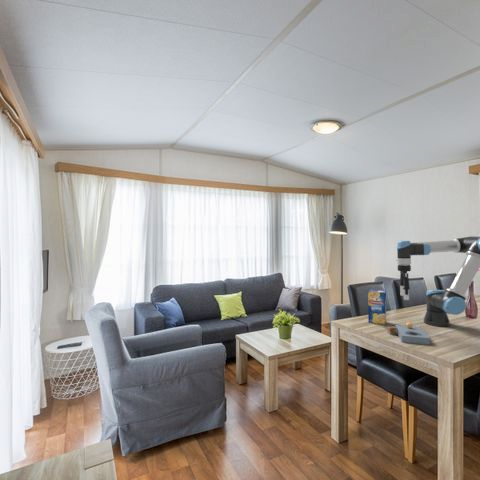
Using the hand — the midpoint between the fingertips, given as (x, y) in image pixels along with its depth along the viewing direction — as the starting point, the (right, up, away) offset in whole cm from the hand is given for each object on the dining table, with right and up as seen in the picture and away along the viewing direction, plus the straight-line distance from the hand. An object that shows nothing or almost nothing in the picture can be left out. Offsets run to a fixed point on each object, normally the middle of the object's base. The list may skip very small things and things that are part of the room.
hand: (404, 297), depth 195 cm
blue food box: (-9, -21, +18) cm, 29 cm away
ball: (-2, -15, -8) cm, 18 cm away
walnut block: (-12, -21, -7) cm, 25 cm away
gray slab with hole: (-3, -21, -14) cm, 25 cm away
